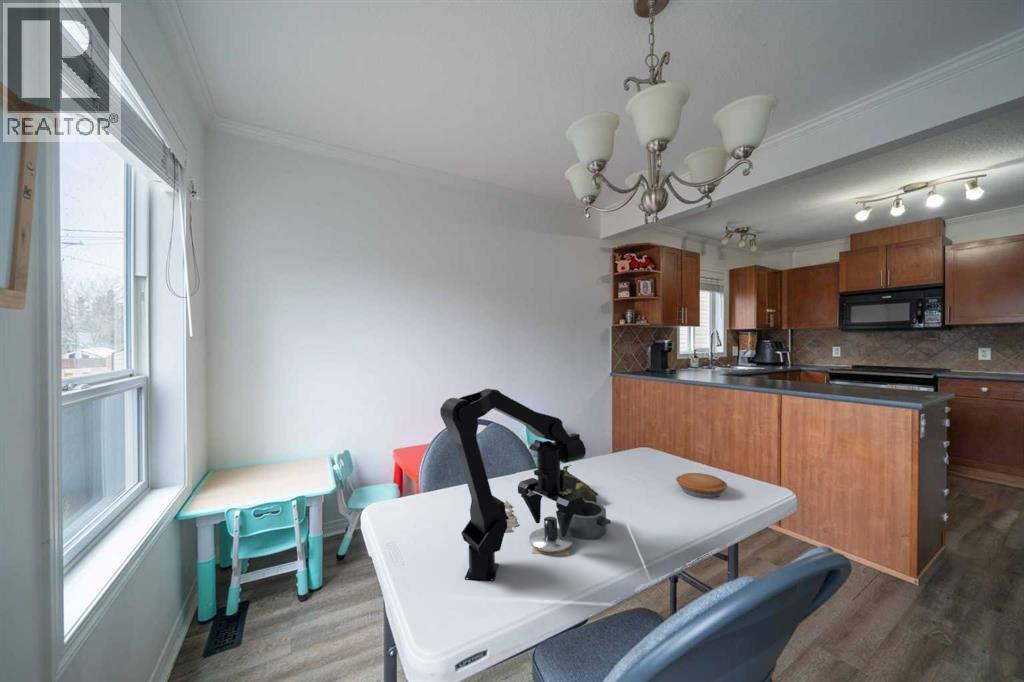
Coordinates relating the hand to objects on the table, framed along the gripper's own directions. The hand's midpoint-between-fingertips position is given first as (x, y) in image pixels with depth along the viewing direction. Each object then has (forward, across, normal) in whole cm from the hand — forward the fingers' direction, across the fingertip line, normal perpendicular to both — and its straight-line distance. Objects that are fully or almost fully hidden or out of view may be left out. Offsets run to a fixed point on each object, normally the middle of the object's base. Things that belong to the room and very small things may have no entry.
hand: (550, 529), depth 91 cm
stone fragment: (+5, +22, -1) cm, 23 cm away
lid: (+4, 0, 0) cm, 4 cm away
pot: (+4, 0, -12) cm, 13 cm away
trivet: (+4, 0, 0) cm, 4 cm away
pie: (+4, -8, -63) cm, 63 cm away
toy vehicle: (+5, +18, -28) cm, 33 cm away
